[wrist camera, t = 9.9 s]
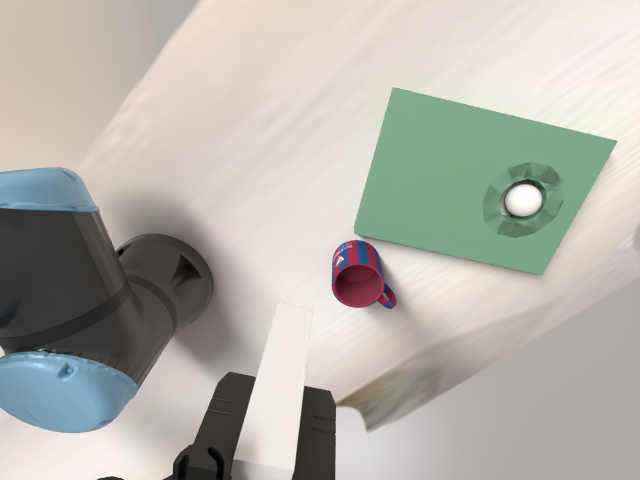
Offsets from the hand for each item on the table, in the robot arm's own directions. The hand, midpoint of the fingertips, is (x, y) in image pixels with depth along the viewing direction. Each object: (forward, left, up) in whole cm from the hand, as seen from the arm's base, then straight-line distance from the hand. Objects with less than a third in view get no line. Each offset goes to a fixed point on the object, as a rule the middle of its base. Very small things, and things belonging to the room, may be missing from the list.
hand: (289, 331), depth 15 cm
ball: (+24, +2, -32) cm, 40 cm away
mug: (+9, -13, -33) cm, 36 cm away
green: (+19, +2, -32) cm, 38 cm away
